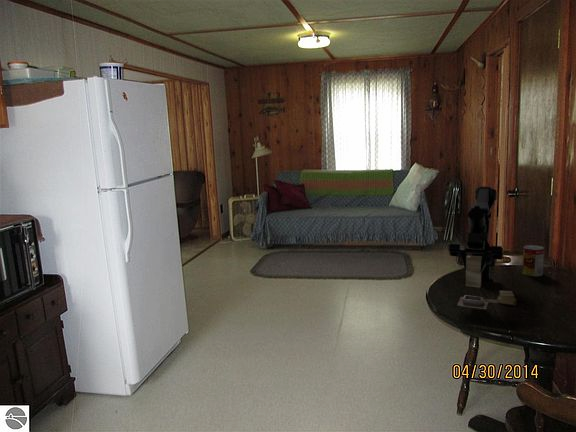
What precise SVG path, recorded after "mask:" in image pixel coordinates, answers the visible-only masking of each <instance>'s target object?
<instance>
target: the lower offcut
mask: <svg viewBox="0 0 576 432" xmlns="http://www.w3.org/2000/svg"><path fill="white" fill-rule="evenodd" d="M498 295H499V294H498ZM498 297H499V303H498V304H500V303H505V304H504V305H508V304H514V300H507V299H501V298H500V295H499V296H498Z"/></svg>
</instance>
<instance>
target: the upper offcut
mask: <svg viewBox="0 0 576 432" xmlns="http://www.w3.org/2000/svg"><path fill="white" fill-rule="evenodd" d="M498 293H499V294H498V295H500V298H501V299H507V300H514V299H515V294H514V293H513V291H512V290H499V292H498Z"/></svg>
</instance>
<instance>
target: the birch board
mask: <svg viewBox="0 0 576 432" xmlns="http://www.w3.org/2000/svg"><path fill="white" fill-rule="evenodd" d="M481 264H482V256H472V255H470V254H466V271H465V287H469V288H470V287H473V288H481V286H482V280H481V271H480V270H481Z"/></svg>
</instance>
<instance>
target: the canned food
mask: <svg viewBox="0 0 576 432" xmlns="http://www.w3.org/2000/svg"><path fill="white" fill-rule="evenodd" d="M522 249H523V250H522V253H523V254H522V274H523V275H525V276H529V277H541V276H543V274H544V273H543V271H544V258H545V257H544V252H545V250H544V249H545V247H544V246H542V245H536V244H527V245H526V244H525V245H524V246H523V248H522Z"/></svg>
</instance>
